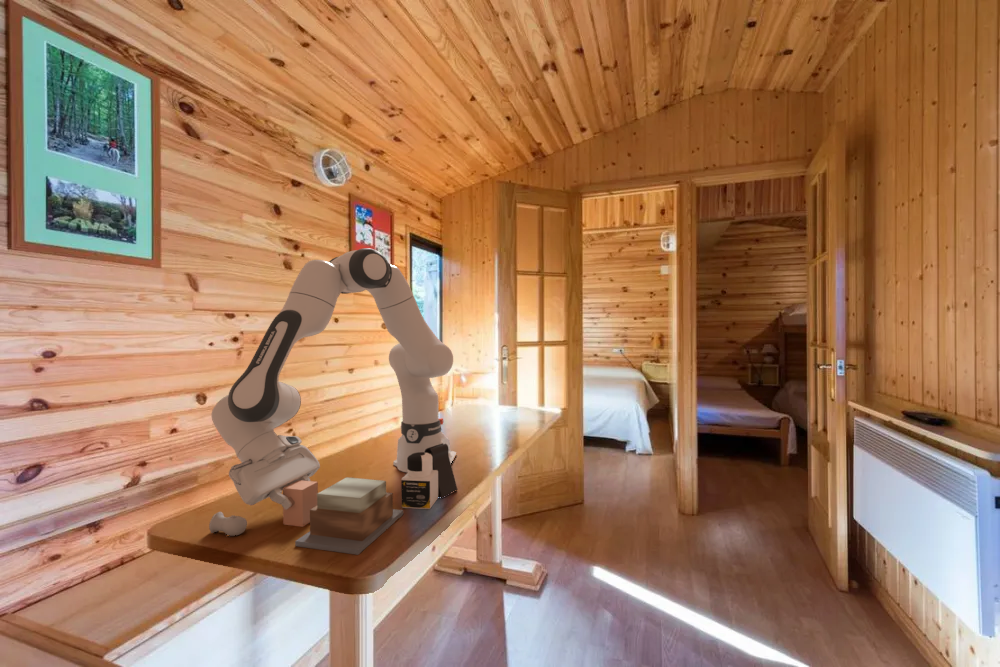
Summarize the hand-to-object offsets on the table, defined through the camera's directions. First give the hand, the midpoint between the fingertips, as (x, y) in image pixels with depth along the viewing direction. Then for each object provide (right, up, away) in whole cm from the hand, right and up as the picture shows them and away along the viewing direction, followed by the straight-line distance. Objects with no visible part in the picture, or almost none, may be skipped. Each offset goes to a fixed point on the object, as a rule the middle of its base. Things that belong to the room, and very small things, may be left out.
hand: (301, 500), depth 95 cm
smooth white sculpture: (-13, -5, -5) cm, 15 cm away
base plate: (+13, -4, -4) cm, 15 cm away
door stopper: (+28, -4, +16) cm, 33 cm away
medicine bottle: (+25, -4, +9) cm, 27 cm away
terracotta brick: (0, -4, 0) cm, 4 cm away
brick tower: (+13, -4, -4) cm, 15 cm away
